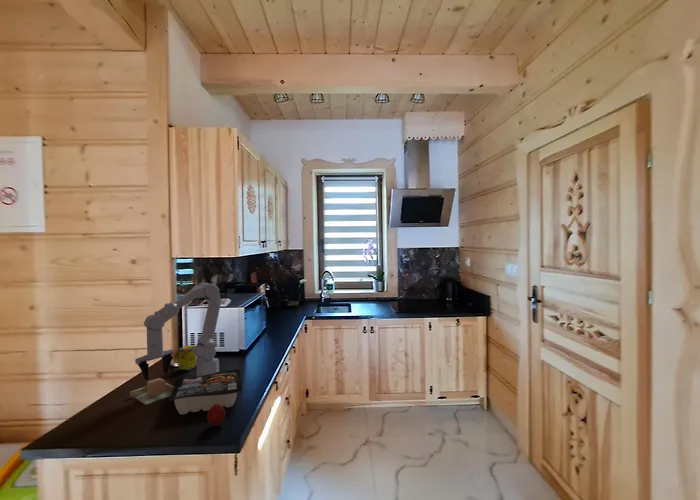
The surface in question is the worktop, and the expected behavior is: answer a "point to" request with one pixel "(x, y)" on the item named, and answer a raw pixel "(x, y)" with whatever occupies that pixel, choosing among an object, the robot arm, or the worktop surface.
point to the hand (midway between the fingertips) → (156, 376)
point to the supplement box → (187, 358)
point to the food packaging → (206, 391)
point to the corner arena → (146, 398)
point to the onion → (216, 414)
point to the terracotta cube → (156, 387)
